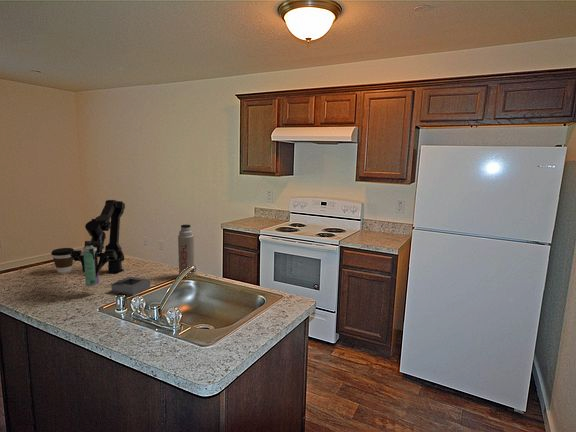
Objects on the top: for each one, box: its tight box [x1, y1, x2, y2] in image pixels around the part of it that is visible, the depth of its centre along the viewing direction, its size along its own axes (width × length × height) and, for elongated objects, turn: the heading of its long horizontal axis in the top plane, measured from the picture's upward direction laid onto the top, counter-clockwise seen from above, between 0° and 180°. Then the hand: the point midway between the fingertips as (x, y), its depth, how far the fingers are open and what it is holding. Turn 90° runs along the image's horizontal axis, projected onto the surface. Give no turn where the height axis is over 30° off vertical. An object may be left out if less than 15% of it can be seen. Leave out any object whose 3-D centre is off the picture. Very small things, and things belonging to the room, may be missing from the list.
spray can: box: [82, 242, 100, 288], centre depth 166 cm, size 6×6×20 cm
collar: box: [111, 276, 151, 297], centre depth 175 cm, size 12×12×4 cm
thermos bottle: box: [177, 224, 195, 277], centre depth 194 cm, size 8×8×28 cm
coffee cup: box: [50, 247, 74, 274], centre depth 198 cm, size 11×11×12 cm
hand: (90, 271), depth 165 cm, fingers closed on spray can, 5 cm apart
